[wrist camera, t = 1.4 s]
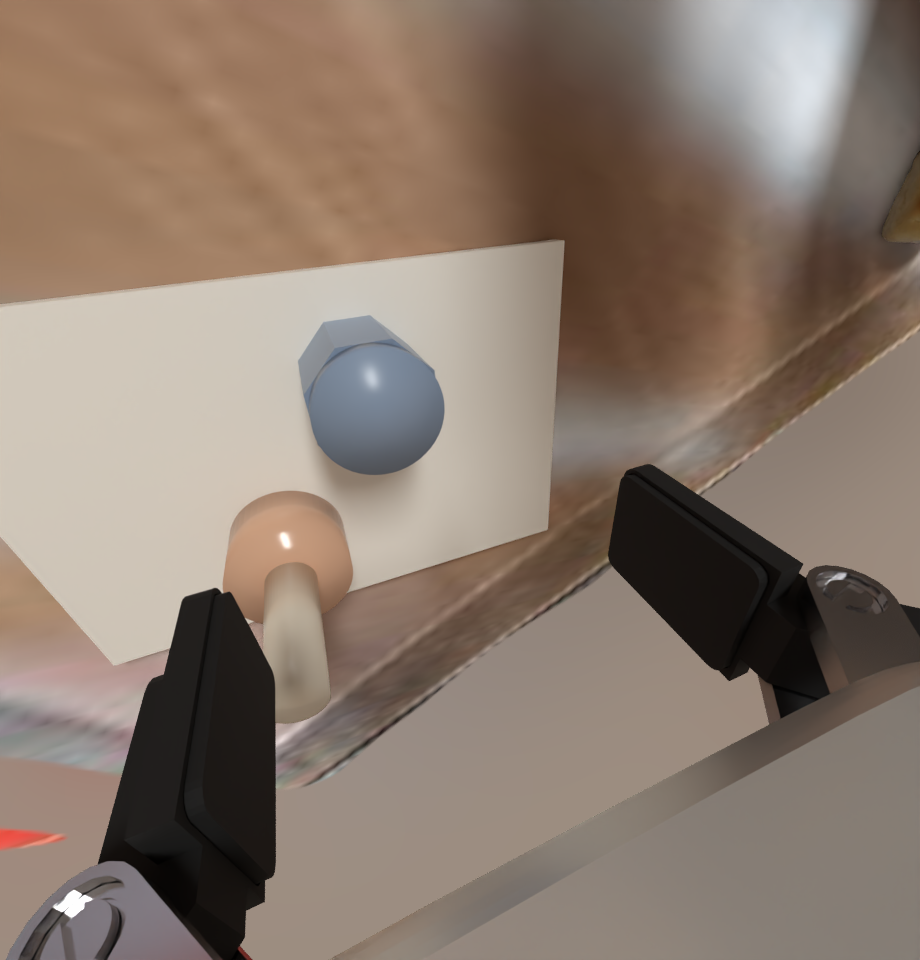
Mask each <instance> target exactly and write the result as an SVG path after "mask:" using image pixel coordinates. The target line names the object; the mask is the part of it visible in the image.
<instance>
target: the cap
mask: <svg viewBox="0 0 920 960" xmlns="http://www.w3.org/2000/svg"><path fill="white" fill-rule="evenodd" d="M298 365H299V371H300V377H301V384H302V390H303V396H304V399H305V403H306V406H307V410H308V413H309V416H310V421H311V426H312V431H313V434H314V436H315V439H316V441H317V444H318V446H320V448H321V449H322V450H323V452H324V453H325V454H326V455H327V456H328V457H329V458H330V459H331V460H332V461H334V462H335V463H336V464H338V465H340V466H341V467H343V468H345V469H347V470H350V471H352V472H356V473H359V474H366V475H383V474H389V473H393V472H396V471H400V470H402V469H404V468H407V467H408V466H410V465H412V464H414V463H415V462H416V461H418V460H419V459H420V458H422V457H423V456H424V455H425V454H426V453H427V452H428V451H429V449H430V448H431V447H432V446H433V444H434V443H435V441H436V439H437V437H438V435H439V433H440V431H441V428H442V425H443V420H444V412H445V407H444V398H443V394H442V390H441V387H440V385H439V383H438V381H437V379H436V378H435V370H434V369H433V368H432V367H431V366H430V365H429V364H428V363H426V362H425V361H424V360H423V359H422V358H421V357H420V356H419V355H418V354H417V353H416V352H415V351H414V350H413V349H412V348H411V347H410V346H409V345H408V344H407V343H406V342H405V341H403V340H402V339H401V338H399V337H398V336H397V335H395V334H394V333H393V332H391V331H390V330H389V329H388V328H386V327H385V326H384V325H382V324H381V323H380V322H378V321H377V320H376V319H374V318H373V317H372V316H370V315H367V316H361V317H354V318H347V319H341V320H334V321H327V322H323V323H322V325H321V326H320V328H319V329H318V331H317V332H316V334H315V335H314V337H313V339H312V340H311V342H310V343H309V345H308V346H307V348H306V349H305V351H304V352H303V354H302V356H301V357H300V359H299V360H298Z"/></svg>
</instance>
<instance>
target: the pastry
mask: <svg viewBox="0 0 920 960" xmlns="http://www.w3.org/2000/svg"><path fill="white" fill-rule="evenodd" d="M882 237H883V238H885V239H886V241H889V242H906V243H909V242H912V243H915V244H920V151H919V153H918V154H917V156H916V157H915V159H914V161H913V165H912V168H911V170H910V172H909V173H908V175H907V177H906V179H905V181H904V183H903V185H902V187H901V189H900V191H899V193H898V195H897V196H896V198H895V200H894V203H893V205H892V207H891V209H890V212H889V214H888V216H887V218H886V221H885V224H884V226H883V230H882Z"/></svg>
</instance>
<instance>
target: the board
mask: <svg viewBox="0 0 920 960" xmlns="http://www.w3.org/2000/svg"><path fill="white" fill-rule="evenodd" d="M564 242H565V240H547V241H538V242H530V243H521V244H513V245H504V246H495V247H487V248H478V249H470V250H461V251H453V252H444V253H436V254H427V255H418V256H410V257H401V258H393V259H384V260H376V261H367V262H358V263H350V264H341V265H333V266H324V267H316V268H307V269H299V270H290V271H281V272H273V273H264V274H256V275H247V276H239V277H230V278H222V279H213V280H204V281H196V282H187V283H179V284H170V285H162V286H153V287H145V288H136V289H127V290H119V291H110V292H102V293H93V294H85V295H76V296H67V297H59V298H50V299H42V300H33V301H25V302H16V303H8V304H0V537H1V538H2V539H3V540H4V541H5V542H6V543H7V545H8V546H9V547H10V548H11V549H12V550H13V551H14V553H15V554H16V555H17V556H18V557H19V558H20V559H21V560H22V562H23V563H24V564H25V565H26V566H27V567H28V568H29V570H30V571H31V572H32V573H33V574H34V575H35V576H36V578H37V579H38V580H39V581H40V582H41V583H42V584H43V585H44V587H45V588H46V589H47V590H48V591H49V592H50V593H51V595H52V596H53V597H54V598H55V599H56V600H57V601H58V603H59V604H60V605H61V606H62V607H63V608H64V609H65V611H66V612H67V613H68V614H69V615H70V616H71V617H72V618H73V620H74V621H75V622H76V623H77V624H78V625H79V626H80V628H81V629H82V630H83V631H84V632H85V633H86V634H87V636H88V637H89V638H90V639H91V640H92V641H93V642H94V644H95V645H96V646H97V647H98V648H99V649H100V650H101V651H102V653H103V654H104V655H105V656H106V657H107V658H108V659H109V661H110V662H111V663H112V664H113V665H114V666H115V665H118V664H121V663H125V662H128V661H131V660H134V659H137V658H140V657H144V656H147V655H150V654H153V653H156V652H160V651H163V650H166V649H169V648H170V647H171V643H172V639H173V635H174V631H175V626H176V622H177V618H178V614H179V610H180V606H181V602H182V600H183V598H184V597H185V596H188V595H192V594H195V593H199V592H202V591H206V590H209V589H213V588H218V589H219V590H220V591H221V593H223V576H224V569H225V562H226V555H227V548H228V541H229V534H230V528H231V526H232V523H233V521H234V519H235V517H236V516H237V515H238V513H239V512H240V511H241V510H242V509H243V508H244V507H245V506H246V505H248V504H249V503H251V502H252V501H254V500H256V499H257V498H260V497H262V496H264V495H267V494H271V493H275V492H280V491H302V492H307V493H311V494H314V495H317V496H319V497H321V498H323V499H325V500H326V501H328V502H329V503H330V504H331V505H333V506H334V507H335V509H336V510H337V511H338V513H339V514H340V516H341V518H342V521H343V525H344V530H345V534H346V539H347V543H348V548H349V552H350V557H351V561H352V566H353V579H352V583H351V586H350V588H349V590H348V592H351V591H354V590H357V589H361V588H364V587H367V586H370V585H373V584H376V583H380V582H383V581H386V580H389V579H392V578H396V577H399V576H402V575H405V574H408V573H412V572H415V571H418V570H421V569H424V568H427V567H431V566H434V565H437V564H440V563H443V562H447V561H450V560H453V559H456V558H459V557H463V556H466V555H469V554H472V553H475V552H479V551H482V550H485V549H488V548H491V547H494V546H498V545H501V544H504V543H507V542H510V541H514V540H517V539H520V538H523V537H526V536H530V535H533V534H536V533H539V532H542V531H545V530H548V519H549V502H550V485H551V467H552V450H553V433H554V415H555V398H556V381H557V363H558V346H559V329H560V311H561V294H562V277H563V260H564ZM367 315H370V316H372V317H373V318H374V319H376V320H377V321H378V322H380V323H381V324H382V325H384V326H385V327H386V328H388V329H389V330H390V331H391V332H393V333H394V334H395V335H397V336H398V337H399V338H401V339H402V340H403V341H405V342H406V343H407V344H408V345H409V346H410V347H411V348H412V349H413V350H414V351H415V352H416V353H417V354H418V355H419V356H420V357H421V358H422V359H423V360H424V361H425V362H426V363H428V364H429V365H430V366H431V367H432V368H433V369H434V370H435V378H436V379H437V381H438V383H439V385H440V387H441V390H442V394H443V398H444V407H445V412H444V420H443V425H442V428H441V431H440V433H439V435H438V437H437V439H436V441H435V443H434V444H433V446H432V447H431V448H430V449H429V451H428V452H427V453H426V454H425V455H424V456H423V457H422V458H420V459H419V460H418V461H416V462H415V463H414V464H412V465H410V466H408V467H407V468H404V469H402V470H400V471H396V472H393V473H389V474H383V475H366V474H359V473H356V472H352V471H350V470H347V469H345V468H343V467H341V466H340V465H338V464H336V463H335V462H334V461H332V460H331V459H330V458H329V457H328V456H327V455H326V454H325V453H324V452H323V450H322V449H321V448H320V446H318V444H317V441H316V439H315V436H314V434H313V431H312V426H311V421H310V416H309V413H308V410H307V406H306V403H305V399H304V396H303V390H302V384H301V377H300V371H299V365H298V360H299V359H300V357H301V356H302V354H303V352H304V351H305V349H306V348H307V346H308V345H309V343H310V342H311V340H312V339H313V337H314V335H315V334H316V332H317V331H318V329H319V328H320V326H321V325H322V323H323V322H327V321H334V320H341V319H347V318H354V317H361V316H367ZM348 592H347V593H348ZM245 619H246V618H245ZM246 621H247V623H248V624H249V623H252V622H254V621H251V620H249V619H246Z"/></svg>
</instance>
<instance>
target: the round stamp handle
mask: <svg viewBox="0 0 920 960" xmlns="http://www.w3.org/2000/svg"><path fill="white" fill-rule="evenodd" d="M352 579H353V566H352V561H351V557H350V552H349V548H348V543H347V539H346V534H345V530H344V525H343V521H342V518H341V516H340V514H339V513H338V511H337V510H336V509H335V507H334V506H333V505H331V504H330V503H329V502H328V501H326V500H325V499H323V498H321V497H319V496H317V495H314V494H311V493H307V492H302V491H280V492H275V493H271V494H267V495H264V496H262V497H260V498H257V499H256V500H254V501H252V502H251V503H249V504H248V505H246V506H245V507H244V508H243V509H242V510H241V511H240V512H239V513H238V515H237V516H236V517H235V519H234V521H233V523H232V526H231V528H230V534H229V541H228V548H227V555H226V562H225V569H224V576H223V593H225V592H231V593H232V595H233V596H234V598H235V600H236V602H237V604H238V606H239V608H240V610H241V612H242V613H243V615H244V617H245V618H246V619H249V620H251V621H254V622H258V623H261V624H263V653H264V655H265V657H266V659H267V661H268V663H269V665H270V667H271V669H272V671H273V674H274V679H275V723H282V724H286V723H295V722H299V721H303V720H306V719H308V718H310V717H312V716H314V715H316V714H318V713H319V712H320V711H322V710H323V709H324V708H325V707H326V706H327V704H328V703H329V701H330V698H331V689H330V681H329V672H328V664H327V655H326V647H325V638H324V630H323V621H322V614H324V613H326V612H327V611H329V610H330V609H332V608H333V607H334V606H336V605H337V604H338V603H339V602H340V601H341V600H342V599H343V597H344V596H345V595H346V593H347V592H348V590H349V588H350V586H351V583H352Z"/></svg>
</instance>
